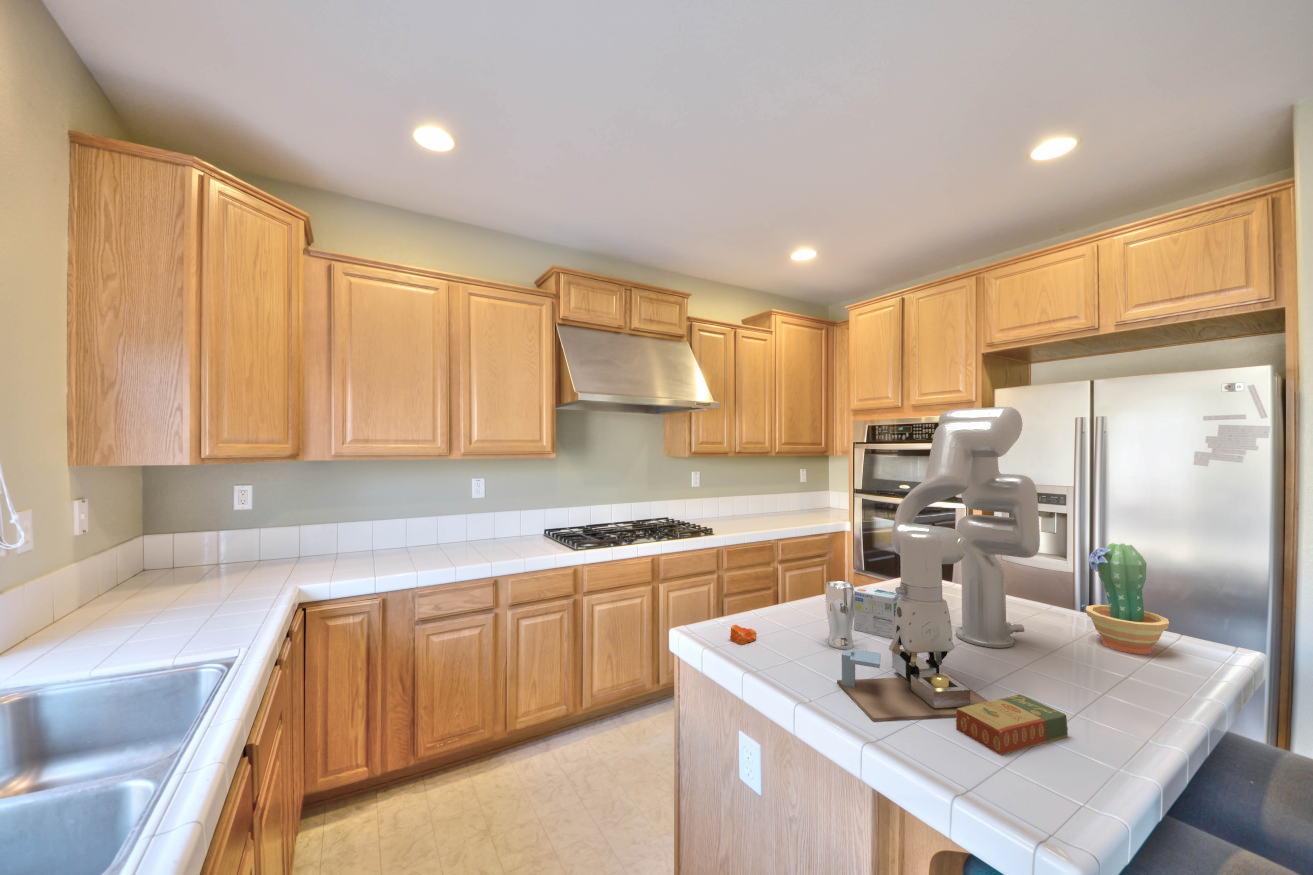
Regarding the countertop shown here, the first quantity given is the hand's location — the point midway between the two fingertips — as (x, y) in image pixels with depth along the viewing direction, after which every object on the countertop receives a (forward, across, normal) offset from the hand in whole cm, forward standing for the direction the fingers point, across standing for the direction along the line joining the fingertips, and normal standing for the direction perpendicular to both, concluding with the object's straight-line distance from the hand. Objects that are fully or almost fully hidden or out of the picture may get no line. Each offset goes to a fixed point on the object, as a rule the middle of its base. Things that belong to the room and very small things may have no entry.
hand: (922, 681), depth 104 cm
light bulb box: (+2, +8, +32) cm, 33 cm away
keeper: (+2, -12, +1) cm, 12 cm away
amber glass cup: (+2, 0, -6) cm, 6 cm away
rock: (+2, -29, +30) cm, 42 cm away
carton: (+2, +6, -16) cm, 17 cm away
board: (+2, -4, -3) cm, 5 cm away
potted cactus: (+2, +63, +16) cm, 65 cm away
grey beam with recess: (+1, 0, 0) cm, 1 cm away
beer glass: (+2, -6, +24) cm, 25 cm away
